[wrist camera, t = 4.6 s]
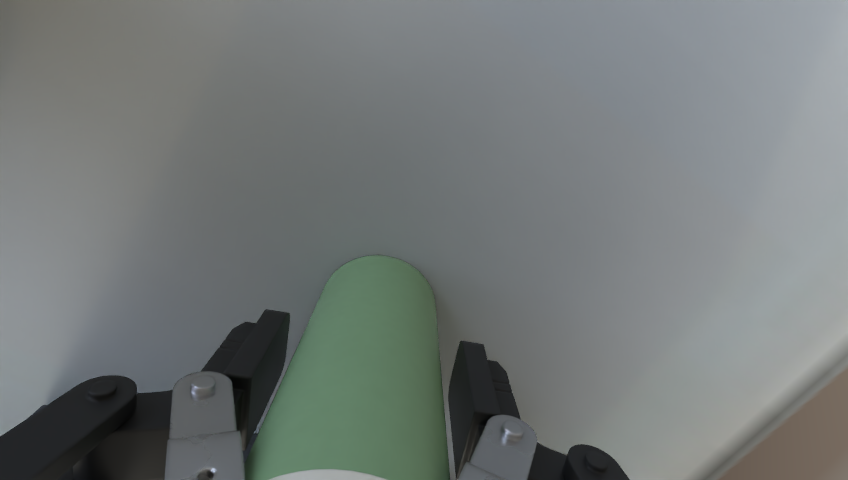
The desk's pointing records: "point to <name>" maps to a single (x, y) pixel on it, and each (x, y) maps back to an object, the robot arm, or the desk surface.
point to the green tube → (360, 385)
